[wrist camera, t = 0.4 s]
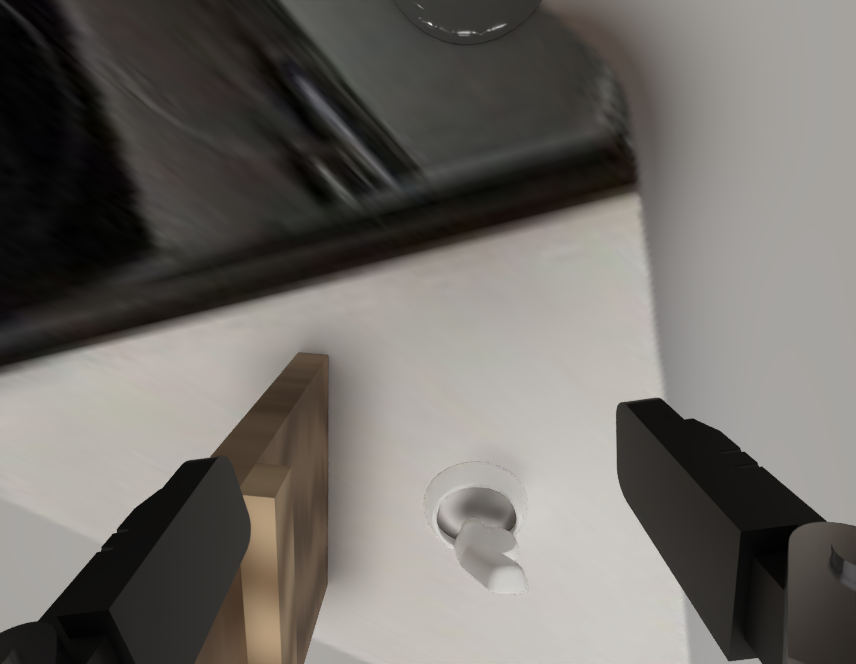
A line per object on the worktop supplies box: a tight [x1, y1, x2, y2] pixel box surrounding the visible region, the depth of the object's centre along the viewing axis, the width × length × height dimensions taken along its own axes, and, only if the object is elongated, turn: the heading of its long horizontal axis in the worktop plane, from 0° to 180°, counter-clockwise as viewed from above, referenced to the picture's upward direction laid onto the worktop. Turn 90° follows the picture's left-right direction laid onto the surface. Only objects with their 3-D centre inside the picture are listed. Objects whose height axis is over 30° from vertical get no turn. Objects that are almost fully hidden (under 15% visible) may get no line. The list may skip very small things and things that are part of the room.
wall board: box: [195, 353, 328, 664], centre depth 25 cm, size 20×4×18 cm, turn 176°
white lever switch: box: [424, 462, 528, 594], centre depth 30 cm, size 8×12×7 cm
